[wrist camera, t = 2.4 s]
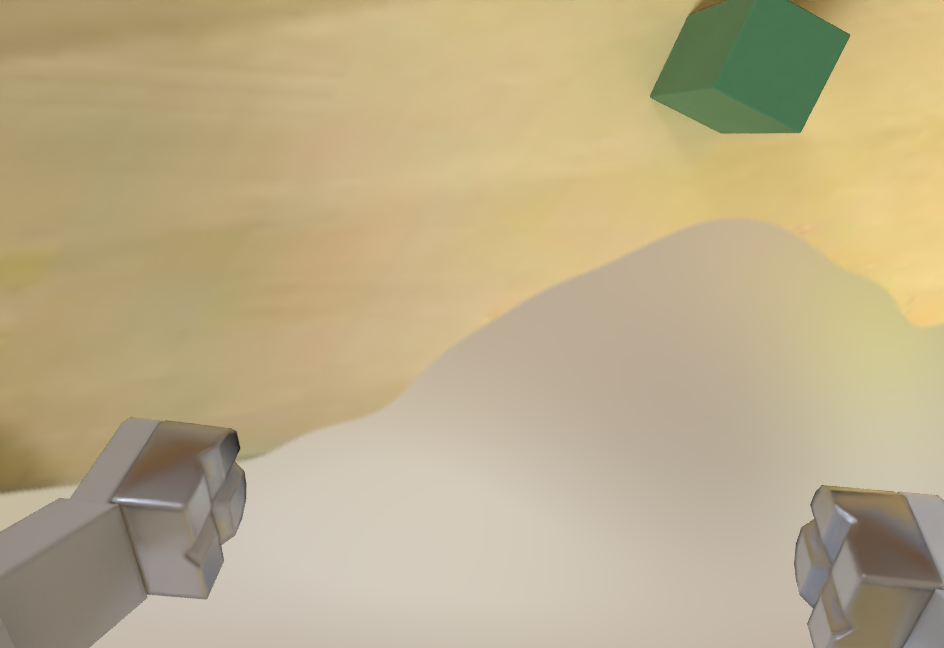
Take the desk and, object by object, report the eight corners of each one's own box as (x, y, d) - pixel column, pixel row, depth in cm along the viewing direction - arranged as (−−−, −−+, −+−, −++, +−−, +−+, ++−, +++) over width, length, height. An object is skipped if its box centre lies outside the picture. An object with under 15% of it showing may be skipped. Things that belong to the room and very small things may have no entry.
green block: (649, 97, 46) (712, 88, 37) (688, 14, 45) (762, -15, 36) (722, 133, 47) (800, 133, 38) (761, 53, 46) (851, 34, 37)
